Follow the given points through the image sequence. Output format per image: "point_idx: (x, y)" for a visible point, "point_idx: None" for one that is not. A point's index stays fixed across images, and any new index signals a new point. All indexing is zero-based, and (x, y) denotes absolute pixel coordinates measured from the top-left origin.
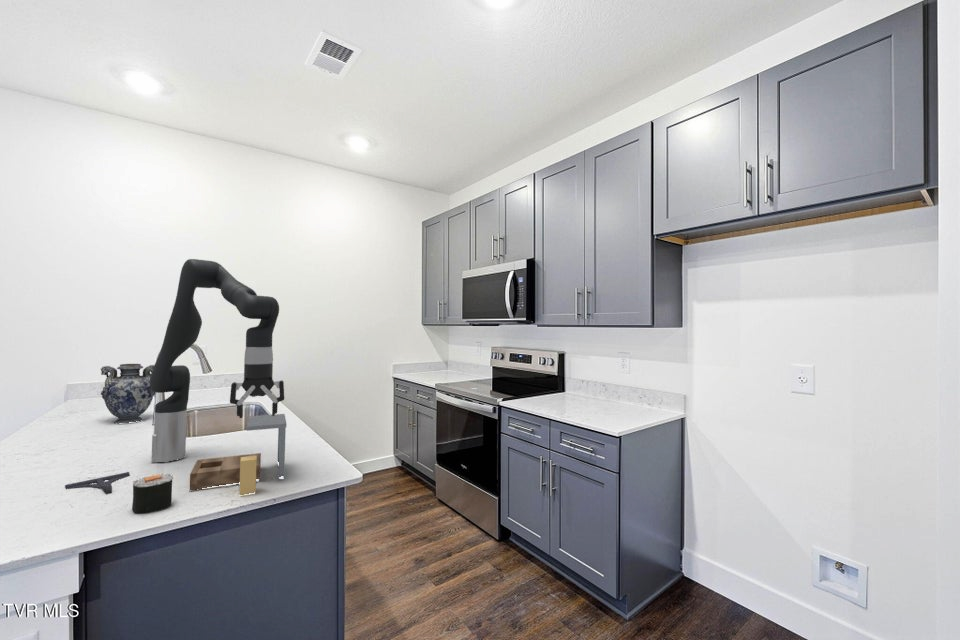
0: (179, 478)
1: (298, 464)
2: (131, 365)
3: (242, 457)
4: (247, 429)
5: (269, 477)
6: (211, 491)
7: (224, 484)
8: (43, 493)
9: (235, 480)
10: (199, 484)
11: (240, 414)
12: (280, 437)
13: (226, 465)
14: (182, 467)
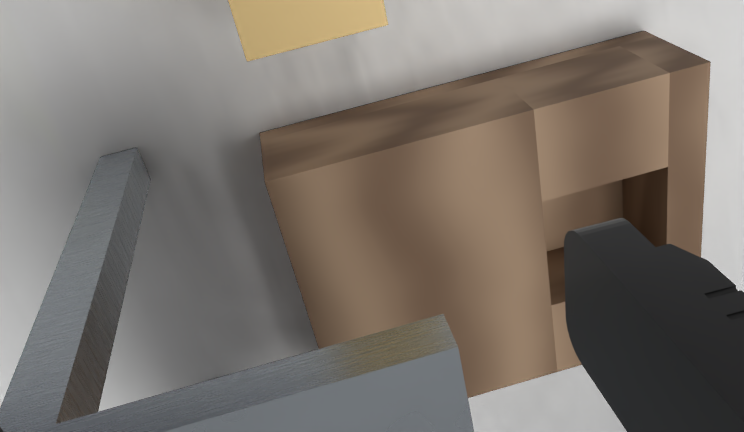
0: (718, 244)
1: (109, 407)
2: None
3: (371, 11)
4: (436, 326)
5: (221, 206)
6: (520, 7)
7: (466, 83)
8: None
9: (409, 105)
10: (612, 52)
11: (636, 256)
12: (70, 346)
13: (509, 212)
14: None
